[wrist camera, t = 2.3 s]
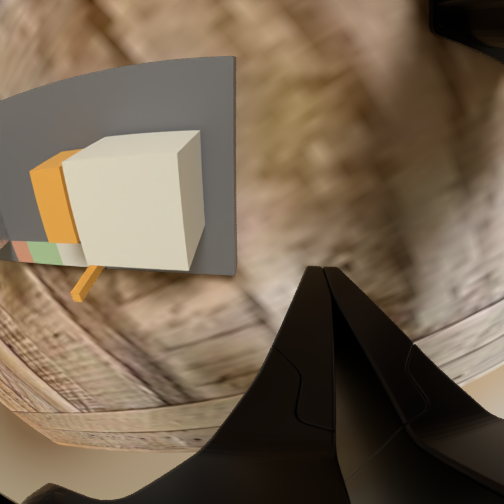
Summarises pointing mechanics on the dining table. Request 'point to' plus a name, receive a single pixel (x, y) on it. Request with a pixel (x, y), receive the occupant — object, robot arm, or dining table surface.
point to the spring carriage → (138, 199)
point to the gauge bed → (113, 124)
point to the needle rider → (60, 213)
